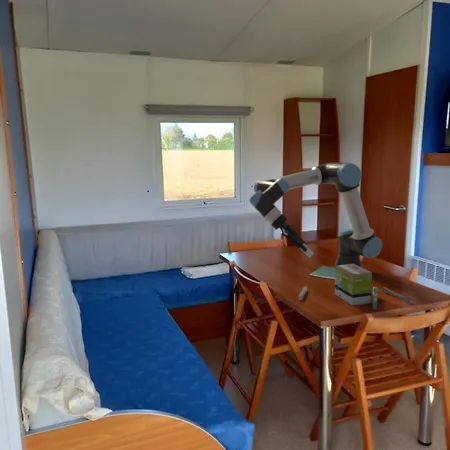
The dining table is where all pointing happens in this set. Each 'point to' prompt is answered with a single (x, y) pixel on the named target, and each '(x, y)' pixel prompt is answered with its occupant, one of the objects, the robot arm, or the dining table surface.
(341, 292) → the tea box
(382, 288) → the combination wrench
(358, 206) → the robot arm
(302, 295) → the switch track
